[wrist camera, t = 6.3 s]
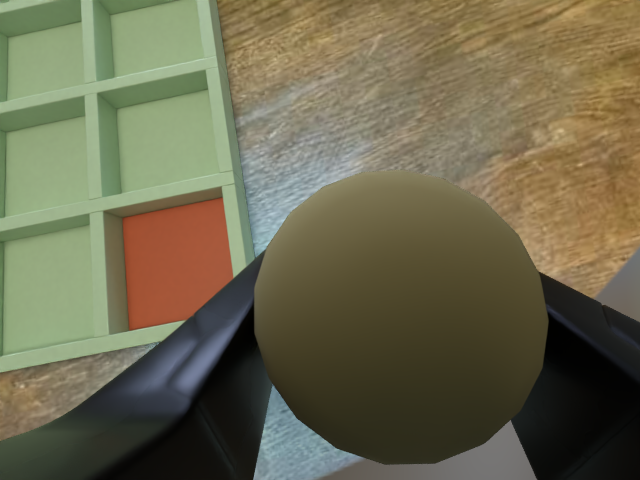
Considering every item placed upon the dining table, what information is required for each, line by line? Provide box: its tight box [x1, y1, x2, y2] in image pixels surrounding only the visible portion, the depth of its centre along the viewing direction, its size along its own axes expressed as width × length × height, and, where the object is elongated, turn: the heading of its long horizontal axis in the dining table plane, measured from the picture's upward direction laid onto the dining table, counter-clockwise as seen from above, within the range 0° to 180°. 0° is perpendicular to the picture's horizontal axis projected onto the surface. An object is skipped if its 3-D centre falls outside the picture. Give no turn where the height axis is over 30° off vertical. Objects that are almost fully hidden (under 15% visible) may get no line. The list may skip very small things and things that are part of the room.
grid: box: [0, 0, 255, 373], centre depth 23 cm, size 39×20×2 cm, turn 11°
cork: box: [254, 169, 549, 465], centre depth 9 cm, size 6×6×11 cm
